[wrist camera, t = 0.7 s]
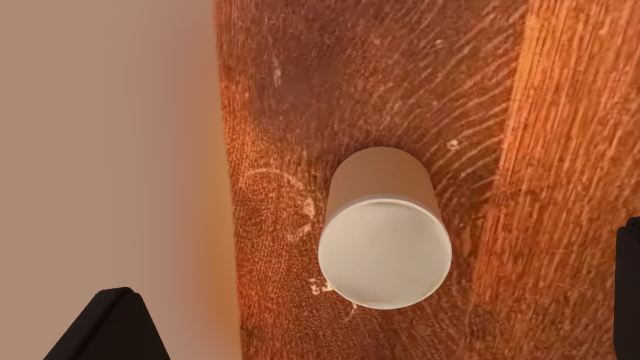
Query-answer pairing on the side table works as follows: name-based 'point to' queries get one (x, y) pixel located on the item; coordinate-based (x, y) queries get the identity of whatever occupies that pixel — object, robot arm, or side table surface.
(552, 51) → the side table surface
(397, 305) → the paper cup
